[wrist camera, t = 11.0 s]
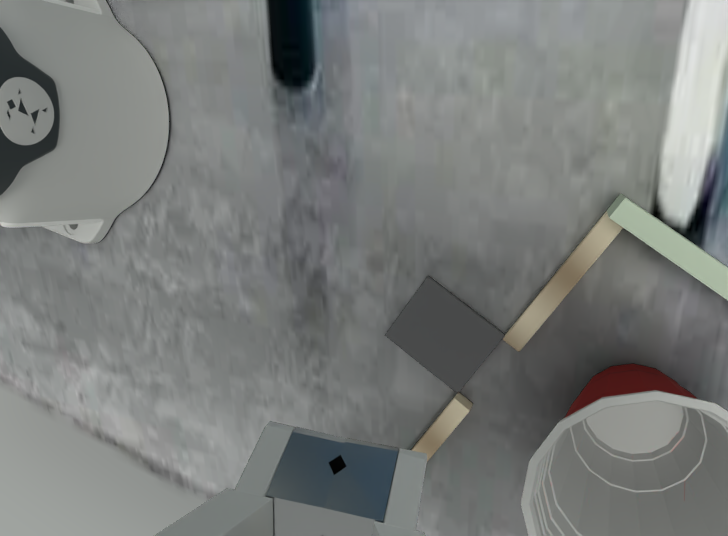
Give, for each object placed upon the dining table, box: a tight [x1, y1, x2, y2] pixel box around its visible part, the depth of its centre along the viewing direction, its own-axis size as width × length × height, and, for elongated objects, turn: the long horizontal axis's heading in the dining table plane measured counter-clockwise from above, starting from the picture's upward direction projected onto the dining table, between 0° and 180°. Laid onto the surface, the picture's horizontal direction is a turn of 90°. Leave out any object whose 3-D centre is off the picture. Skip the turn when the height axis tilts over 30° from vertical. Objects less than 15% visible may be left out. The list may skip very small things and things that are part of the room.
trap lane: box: [411, 211, 623, 461], centre depth 37 cm, size 23×16×1 cm
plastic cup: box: [521, 364, 728, 536], centre depth 31 cm, size 11×11×12 cm
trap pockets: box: [385, 276, 505, 393], centre depth 37 cm, size 5×28×1 cm, turn 56°
